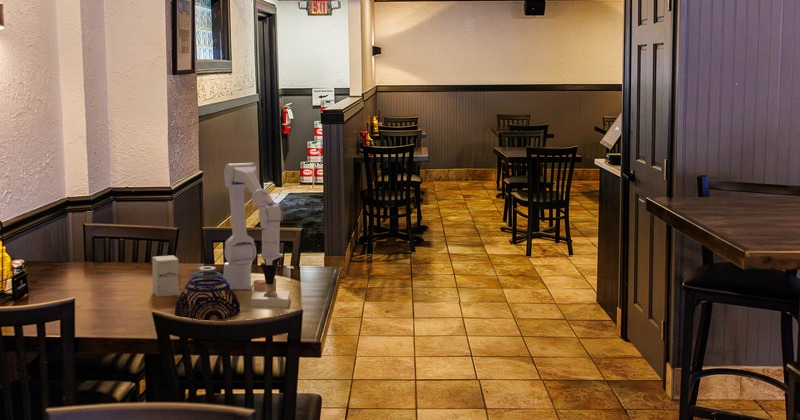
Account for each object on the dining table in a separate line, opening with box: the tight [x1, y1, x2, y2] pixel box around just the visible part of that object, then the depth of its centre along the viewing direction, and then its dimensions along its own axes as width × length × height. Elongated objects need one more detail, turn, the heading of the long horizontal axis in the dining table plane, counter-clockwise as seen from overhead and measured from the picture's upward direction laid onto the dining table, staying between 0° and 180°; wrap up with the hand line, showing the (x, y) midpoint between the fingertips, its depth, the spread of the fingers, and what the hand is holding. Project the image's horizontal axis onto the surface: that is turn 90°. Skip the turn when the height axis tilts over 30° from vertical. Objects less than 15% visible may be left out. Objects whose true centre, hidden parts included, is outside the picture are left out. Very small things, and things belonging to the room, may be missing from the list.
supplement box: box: [151, 254, 180, 298], centre depth 292 cm, size 7×7×13 cm
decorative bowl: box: [174, 265, 241, 321], centre depth 273 cm, size 20×20×14 cm
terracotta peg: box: [252, 279, 266, 292], centre depth 294 cm, size 5×5×5 cm
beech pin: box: [266, 277, 277, 297], centre depth 286 cm, size 3×3×8 cm
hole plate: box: [250, 290, 291, 308], centre depth 287 cm, size 12×10×2 cm
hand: (270, 281), depth 286 cm, fingers open, 7 cm apart
